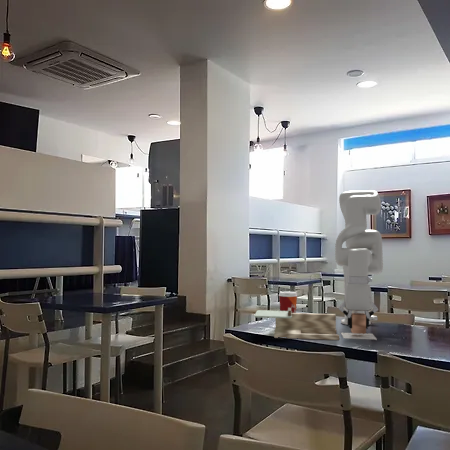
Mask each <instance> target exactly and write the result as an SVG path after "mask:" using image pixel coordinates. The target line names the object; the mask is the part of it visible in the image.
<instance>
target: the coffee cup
mask: <svg viewBox="0 0 450 450" xmlns="http://www.w3.org/2000/svg"><path fill="white" fill-rule="evenodd" d="M298 296H299V295H298V293H297V292H296V291H279V294H278V297H279V311H288V308H291V313H297V304H298V301H297V299H298Z"/></svg>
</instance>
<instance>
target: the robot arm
mask: <svg viewBox="0 0 450 450" xmlns="http://www.w3.org/2000/svg"><path fill="white" fill-rule="evenodd" d="M338 201H339V203H338V204H339V208H340V210H341V213H342V215H343V218H344V222H345V223H344V224H345V225H344V227H345V228H343V230H341V231H340V232H339V234H338V235H337V238H336V240H335V243H334V244H335V248H334V249H335V250H334V251H335V252H334V253H335V254H334V258H335V263H336V265H337V266H340V267H342V271H343V278H344V279H343V280H344V282H343V283H344V299H343V302H342V303H341V304H340V306H338V310H339V311H341V313H343V315H344V318H343V319H341V320H340V323H341V324H343V325H346V326H348V327H349V329H351V328H352V318H351V314H352V313H364V314H365V315H366V330H368V328H369V327H370V325H371V321H378V316H377V315H374V314H375V313H377V312H378V311H379V308H378V307H377V305H376V304H374V302H373V299H372V298H373V297H372V295H373V294H372V289H371V285H370V284H369V283H371V282H373V278H372V277H369V275H370V276H373V275H374V276H375V275H376V276H377V275H380V274H381V273H382V272H383V270H384V269H383V268H384V259H383V258H384V257H383V238H382V234H381V232H380V231H378V230H375V229H367V228H368V221H367V215H368V216H369V215H370V216H371V215H374V216H375V215H376V216H377V215H379V214H380V212H381V209H382V200H381V197H380V194H379V193H378V191H376V190H348V191H343V192H341V193H340V194H339V197H338ZM344 243H345V246H346V247H343V244H344Z"/></svg>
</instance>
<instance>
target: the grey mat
mask: <svg viewBox="0 0 450 450" xmlns="http://www.w3.org/2000/svg"><path fill="white" fill-rule="evenodd" d="M340 334H341V336H342V338H343V339H346V340H347V339H349V340H350V339H351V340H353V339H354V340H375V341H377V339H378V338H377V337H376V336H375V335H374V334H373V333H366V334H359V333H352V332H341V333H340Z"/></svg>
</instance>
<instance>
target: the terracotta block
mask: <svg viewBox="0 0 450 450" xmlns="http://www.w3.org/2000/svg"><path fill="white" fill-rule="evenodd" d="M351 318H352V328H350V333H359V334H367V329H366V315H365V314H364V313H352V314H351Z"/></svg>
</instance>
